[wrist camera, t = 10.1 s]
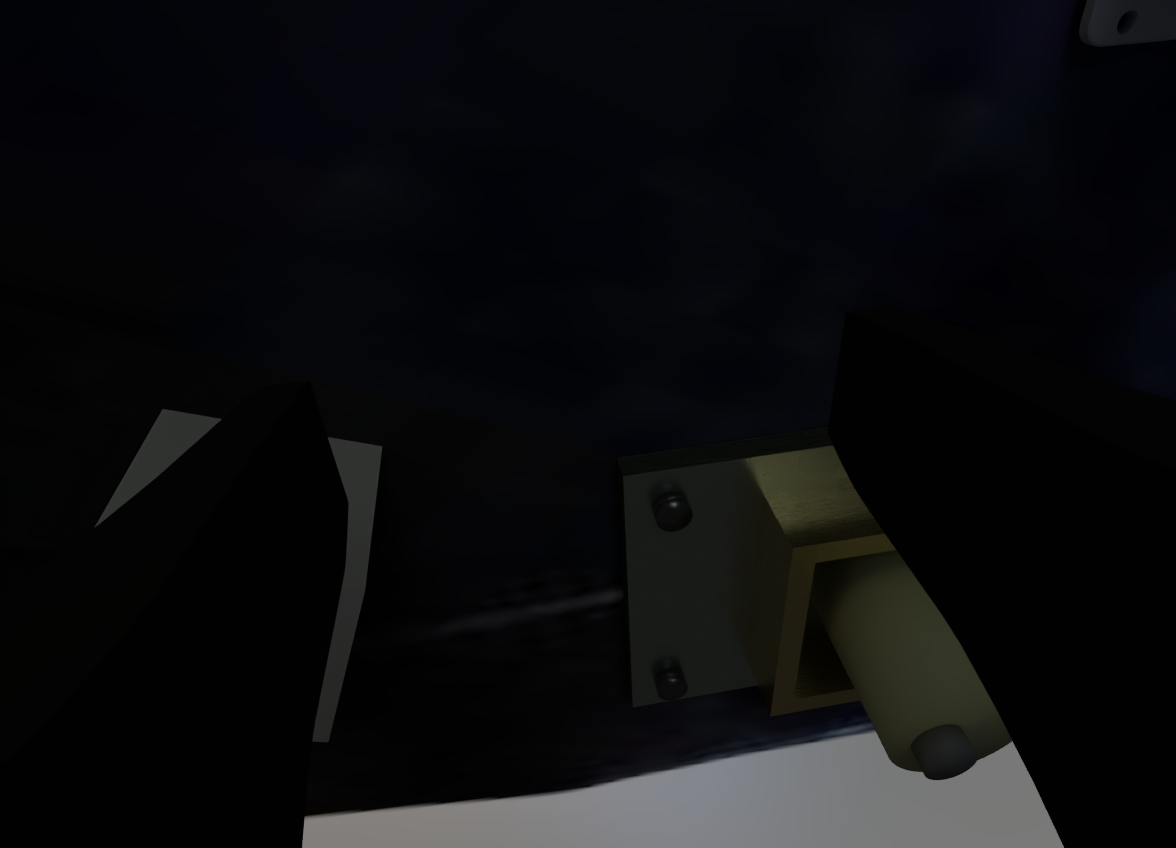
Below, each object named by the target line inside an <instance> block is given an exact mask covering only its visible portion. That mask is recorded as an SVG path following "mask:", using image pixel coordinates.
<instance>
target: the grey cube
mask: <svg viewBox="0 0 1176 848" xmlns="http://www.w3.org/2000/svg"><path fill="white" fill-rule="evenodd" d="M220 420H221V419H218V418H212V417H206V416H200V415H194V414H188V413H182V412H176V411H171V410H165V409H163V410H162V412H161V413H160V415H159V417H158V418H157V420H156V422H155V424H154V425H153V427H152V429H151V431H150V432H149V434H148V436H147V438H146V439H145V441H144V443H143V445H142V446H141V448H140V450H139V452H138V453H137V455H136V457H135V458H134V460H133V462H132V464H131V465H130V467H129V469H128V471H127V472H126V474H125V476H124V478H123V479H122V481H121V483H120V485H119V486H118V488H117V490H116V491H115V493H114V495H113V497H112V498H111V500H110V502H109V504H108V505H107V507H106V509H105V511H104V512H103V514H102V516H101V518H100V519H99V521H98V523H97V525H99V524H100V523H101V522H102V521H104V520H105V519H106V518H107V517H108V516H110V515H111V514H112V513H113V512H115V511H116V510H117V509H118V508H119V507H121V506H122V505H123V504H124V503H126V502H127V501H128V500H129V499H131V498H132V497H133V496H134V495H135V494H137V493H138V492H139V491H140V490H142V489H143V488H144V487H145V486H146V485H148V484H149V483H150V482H151V481H153V480H154V479H155V478H156V477H157V476H158V475H160V474H161V473H162V472H163V471H164V470H165V469H166V468H168V467H169V466H170V465H171V464H172V463H173V462H174V461H175V460H177V459H178V458H179V457H180V456H181V455H182V454H183V453H184V452H186V451H187V450H188V449H189V448H190V447H191V446H192V445H193V444H195V443H196V442H197V441H198V440H199V439H200V438H201V437H202V436H204V435H205V434H206V433H207V432H208V431H209V430H210V429H211V428H212V427H213V426H215V425H216V424H217V423H218V422H219V421H220ZM328 440H329V443H330V446H331V449H332V452H333V455H334V458H335V461H336V464H337V468H338V471H339V474H340V477H341V480H342V483H343V486H344V489H345V492H346V496H347V499H348V502H349V507H348V534H347V551H346V567H345V573H344V578H343V584H342V589H341V594H340V600H339V605H338V610H337V615H336V620H335V625H334V630H333V635H332V640H331V645H330V650H329V655H328V660H327V665H326V670H325V675H324V680H323V685H322V690H321V695H320V700H319V705H318V710H317V715H316V720H315V727H314V733H313V740H312V741H315V742H328V741H329V737H330V733H331V729H332V725H333V721H334V716H335V712H336V708H337V704H338V700H339V696H340V692H341V688H342V684H343V679H344V675H345V671H346V667H347V663H348V659H349V655H350V651H351V646H352V642H353V638H354V634H355V630H356V626H357V622H358V618H359V614H360V609H361V605H362V601H363V597H364V593H365V586H366V578H367V570H368V562H369V553H370V545H371V537H372V528H373V520H374V512H375V503H376V495H377V487H378V478H379V470H380V462H381V453H382V446H376V445H370V444H364V443H358V442H353V441H347V440H341V439H335V438H329V437H328ZM97 525H96V526H97ZM96 526H95V527H96Z"/></svg>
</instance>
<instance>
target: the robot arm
mask: <svg viewBox="0 0 1176 848" xmlns="http://www.w3.org/2000/svg"><path fill="white" fill-rule="evenodd" d="M1125 13H1126V20H1125V22H1124V24H1123V26H1122V27H1121V28H1120V29H1119V30H1117V25H1118V22H1119V20H1120V18H1121V17H1122V16H1123V15H1124V14H1125ZM1079 35H1080V39H1081V41H1083V42H1084V43H1085V44H1087V45H1092V46H1098V47H1105V46H1115V45H1126V44H1136V43H1146V42H1156V41H1167V40H1176V0H1087V1H1086V5H1085V8H1084V12H1083V15H1082V19H1081V23H1080V28H1079ZM827 433H828V436H829V438H830V440H831V442H832V444H833V446H834V448H835V451H836V453H837V455H838V457H839V459H840V461H841V464H842V466H843V467H844V469H845V471H846V473H847V475H848V477H849V479H850V481H851V483H852V485H853V487H854V489H855V491H856V492H857V494H858V495H859V497H860V498H861V500H862V501H863V503H864V504H865V506H866V507H867V508H868V510H869V511H870V513H871V514H872V516H873V517H874V519H875V520H876V522H877V523H878V525H879V526H880V527H881V529H882V530H883V532H884V533H885V535H886V536H887V538H888V539H889V540H890V542H891V543H892V545H893V546H894V547H895V549H896V550H897V552H898V553H899V555H900V556H901V557H902V559H903V560H904V562H905V563H906V565H907V566H908V567H909V569H910V570H911V572H912V573H913V574H914V576H915V577H916V579H917V580H918V582H919V583H920V584H921V586H922V587H923V589H924V590H925V592H926V593H927V594H928V596H929V597H930V599H931V600H932V602H933V603H934V604H935V606H936V607H937V609H938V610H939V612H940V613H941V614H942V616H943V618H944V619H945V621H946V622H947V624H948V625H949V627H950V629H951V630H952V632H953V633H954V635H955V636H956V638H957V639H958V641H959V643H960V644H961V646H962V648H963V650H964V651H965V653H966V655H967V657H968V659H969V661H970V662H971V664H972V666H973V668H974V670H975V671H976V673H977V675H978V677H979V679H980V681H981V682H982V684H983V686H984V688H985V690H986V691H987V693H988V695H989V697H990V699H991V701H992V702H993V704H994V706H995V708H996V710H997V712H998V714H999V716H1000V717H1001V719H1002V721H1003V723H1004V725H1005V727H1006V729H1007V731H1008V733H1009V735H1010V737H1011V739H1012V741H1013V743H1014V745H1015V747H1016V749H1017V751H1018V753H1019V755H1020V756H1021V759H1022V761H1023V762H1024V764H1025V766H1026V768H1027V770H1028V772H1029V774H1030V776H1031V778H1032V780H1033V782H1034V784H1035V786H1036V788H1037V790H1038V792H1039V795H1040V797H1041V799H1042V801H1043V803H1044V805H1045V808H1046V810H1047V812H1048V814H1049V816H1050V818H1051V820H1052V823H1053V825H1054V827H1055V829H1056V831H1057V833H1058V835H1059V838H1060V840H1061V842H1062V844H1063V846H1064V848H1176V401H1175V400H1171V399H1168V398H1164V397H1161V396H1157V395H1154V394H1150V393H1147V392H1143V391H1140V390H1137V389H1133V388H1130V387H1127V386H1124V385H1121V384H1118V383H1115V382H1112V381H1109V380H1105V379H1102V378H1099V377H1096V376H1093V375H1090V374H1087V373H1084V372H1081V371H1078V370H1075V369H1072V368H1069V367H1066V366H1063V365H1060V364H1057V363H1054V362H1052V361H1049V360H1046V359H1043V358H1040V357H1038V356H1035V355H1032V354H1029V353H1027V352H1024V351H1021V350H1018V349H1016V348H1013V347H1010V346H1007V345H1005V344H1002V343H999V342H997V341H994V340H991V339H989V338H986V337H983V336H981V335H978V334H975V333H972V332H970V331H967V330H964V329H962V328H959V327H956V326H953V325H951V324H948V323H945V322H942V321H939V320H936V319H933V318H930V317H928V316H925V315H921V314H918V313H915V312H912V311H908V310H905V309H900V308H896V307H892V306H883V307H875V308H868V309H860V310H852V311H846V315H845V321H844V328H843V334H842V341H841V347H840V354H839V360H838V367H837V374H836V380H835V387H834V393H833V400H832V406H831V413H830V419H829V426H828V432H827ZM348 507H349V502H348V499H347V496H346V492H345V489H344V486H343V483H342V480H341V477H340V474H339V471H338V468H337V464H336V461H335V458H334V455H333V452H332V449H331V446H330V443H329V440H328V436H327V433H326V430H325V427H324V424H323V421H322V418H321V415H320V412H319V408H318V405H317V402H316V399H315V396H314V393H313V390H312V387H311V384H310V381H301V382H294V383H286V384H278V385H270V386H263V387H260V388H258V389H257V390H256V391H254V392H253V393H251V394H250V395H249V396H248V397H246V398H245V399H244V400H243V401H242V402H241V403H239V404H238V405H237V406H236V407H235V408H234V409H232V410H231V411H230V412H229V413H228V414H227V415H226V416H225V417H223V418H222V419H221V420H220V421H219V422H218V423H217V424H216V425H215V426H213V427H212V428H211V429H210V430H209V431H208V432H207V433H206V434H205V435H204V436H202V437H201V438H200V439H199V440H198V441H197V442H196V443H195V444H193V445H192V446H191V447H190V448H189V449H188V450H187V451H186V452H184V453H183V454H182V455H181V456H180V457H179V458H178V459H177V460H175V461H174V462H173V463H172V464H171V465H170V466H169V467H168V468H166V469H165V470H164V471H163V472H162V473H161V474H160V475H158V476H157V477H156V478H155V479H154V480H153V481H151V482H150V483H149V484H148V485H146V486H145V487H144V488H143V489H142V490H140V491H139V492H138V493H137V494H135V495H134V496H133V497H132V498H131V499H129V500H128V501H127V502H126V503H124V504H123V505H122V506H121V507H119V508H118V509H117V510H116V511H115V512H113V513H112V514H111V515H110V516H108V517H107V518H106V519H105V520H104V521H102V522H101V523H100V524H99V525H97V526H96V527H95V528H94V529H92V530H91V531H90V532H89V533H88V534H86V535H85V536H84V537H82V538H81V539H80V540H78V541H77V542H76V543H74V544H73V545H72V546H70V547H69V548H68V549H66V550H65V551H64V552H62V553H61V554H59V555H58V556H57V557H55V558H54V559H53V560H51V561H50V562H48V563H47V564H46V565H44V566H43V567H41V568H40V569H38V570H37V571H36V572H34V573H33V574H31V575H30V576H28V577H27V578H25V579H24V580H22V581H21V582H19V583H18V584H17V585H15V586H14V587H12V588H11V589H9V590H8V591H6V592H5V593H3V594H2V595H1V596H0V848H302V840H303V828H304V817H305V806H306V795H307V783H308V772H309V761H310V753H311V747H312V740H313V733H314V727H315V720H316V715H317V710H318V705H319V700H320V695H321V690H322V685H323V680H324V675H325V670H326V665H327V660H328V655H329V650H330V645H331V640H332V635H333V630H334V625H335V620H336V615H337V610H338V605H339V600H340V594H341V589H342V584H343V578H344V573H345V567H346V551H347V534H348Z"/></svg>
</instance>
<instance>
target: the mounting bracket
mask: <svg viewBox="0 0 1176 848" xmlns="http://www.w3.org/2000/svg"><path fill="white" fill-rule="evenodd" d="M827 432H828V427H823V428H816V429H809V430H803V431H796V432H789V433H782V434H775V435H768V436H761V437H754V438H747V439H740V440H733V441H726V442H719V443H712V444H705V445H698V446H691V447H684V448H677V449H670V450H663V451H657V452H650V453H643V454H636V455H629V456H622V457H617V465H618V486H619V507H620V529H621V550H622V571H623V592H624V614H625V635H626V656H627V678H628V689H629V693H630V697H631V702H632V706H633V707H638V706H643V705H649V704H655V703H660V702H666V701H672V700H677V699H683V698H689V697H694V696H700V695H706V694H711V693H717V692H723V691H728V690H734V689H740V688H745V687H751V686H757V685H758V688H759V690H760V692H761V695H762V697H763V700H764V702H765V705H766V707H767V710H768V712H769V715H770V717H771V716H776V715H782V714H787V713H793V712H798V711H804V710H809V709H815V708H820V707H826V706H831V705H837V704H843V703H848V702H854V701H859V700H860V698H859V696H858V694H857V692H856V690H855V688H854V686H853V684H852V682H851V680H850V678H849V676H848V674H847V672H846V670H845V668H844V666H843V664H842V662H841V660H840V658H839V656H838V654H837V652H836V650H835V648H834V646H833V644H832V642H831V640H830V638H829V636H828V634H827V632H826V629H825V627H824V625H823V623H822V621H821V619H820V617H819V615H818V613H817V611H816V609H815V607H814V605H813V603H812V601H811V599H810V593H811V586H812V580H813V574H814V568H815V563H818V562H825V561H831V560H837V559H843V558H849V557H856V556H862V555H868V554H874V553H880V552H887V551H893V550H896V549H895V547H894V546H893V545H892V543H891V542H890V540H889V539H888V538H887V536H886V535H885V533H884V532H883V530H882V529H881V527H880V526H879V525H878V523H877V522H876V520H875V519H874V517H873V516H872V514H871V513H870V511H869V510H868V508H867V507H866V506H865V504H864V503H863V501H862V500H861V498H860V497H859V495H858V494H857V492H856V491H855V489H854V487H853V485H852V483H851V481H850V479H849V477H848V475H847V473H846V471H845V469H844V467H843V466H842V464H841V461H840V459H839V457H838V455H837V453H836V451H835V448H834V446H833V444H832V442H831V440H830V438H829V436H828V433H827Z"/></svg>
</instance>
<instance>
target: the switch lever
mask: <svg viewBox="0 0 1176 848" xmlns="http://www.w3.org/2000/svg"><path fill="white" fill-rule="evenodd" d="M810 599H811V601H812V603H813V605H814V607H815V609H816V611H817V613H818V615H819V617H820V619H821V621H822V623H823V625H824V627H825V629H826V632H827V634H828V636H829V638H830V640H831V642H832V644H833V646H834V648H835V650H836V652H837V654H838V656H839V658H840V660H841V662H842V664H843V666H844V668H845V670H846V672H847V674H848V676H849V678H850V680H851V682H852V684H853V686H854V688H855V690H856V692H857V694H858V696H859V698H860V700H861V702H862V704H863V706H864V708H865V710H866V712H867V714H868V716H869V718H870V720H871V722H872V724H873V726H874V728H875V731H876V733H877V734H878V737H879V739H880V741H881V743H882V745H883V747H884V749H885V751H886V753H887V755H888V757H889V759H890V760H891V761H892V763H894V764H895V765H896V766H898V767H900V768H903V769H906V770H910V771H918V772H923V773H924V775H925V776H926V777H927V778H928V779H932V780H943V779H948V778H952V777H955V776H957V775H960V774H962V773H963V772H965V771H967V770H968V769H970V768H971V767H972V766H973V765H974V764H975V763H976V761H977V760H979V759H981V758H984V757H986V756H988V755H990V754H992V753H994V752H996V751H998V750H999V749H1001V748H1003V747H1004V746H1006V745H1007V744H1009V743H1010V742H1011V741H1012V739H1011V737H1010V735H1009V733H1008V731H1007V729H1006V727H1005V725H1004V723H1003V721H1002V719H1001V717H1000V716H999V714H998V712H997V710H996V708H995V706H994V704H993V702H992V701H991V699H990V697H989V695H988V693H987V691H986V690H985V688H984V686H983V684H982V682H981V681H980V679H979V677H978V675H977V673H976V671H975V670H974V668H973V666H972V664H971V662H970V661H969V659H968V657H967V655H966V653H965V651H964V650H963V648H962V646H961V644H960V643H959V641H958V639H957V638H956V636H955V635H954V633H953V632H952V630H951V629H950V627H949V625H948V624H947V622H946V621H945V619H944V618H943V616H942V614H941V613H940V612H939V610H938V609H937V607H936V606H935V604H934V603H933V602H932V600H931V599H930V597H929V596H928V594H927V593H926V592H925V590H924V589H923V587H922V586H921V584H920V583H919V582H918V580H917V579H916V577H915V576H914V574H913V573H912V572H911V570H910V569H909V567H908V566H907V565H906V563H905V562H904V560H903V559H902V557H901V556H900V555H899V553H898V552H897V550H893V551H887V552H880V553H874V554H868V555H862V556H856V557H849V558H843V559H837V560H831V561H825V562H818V563H815V568H814V574H813V580H812V586H811V593H810Z"/></svg>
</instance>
